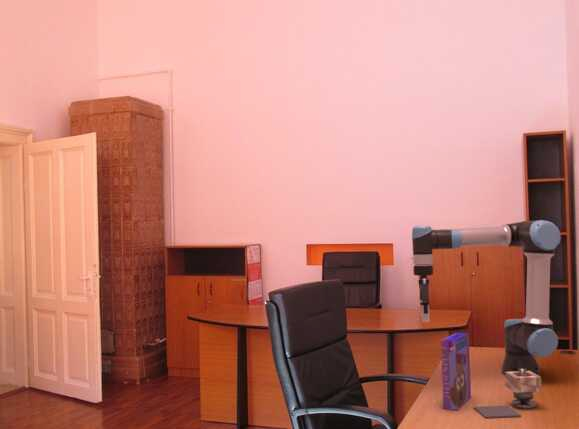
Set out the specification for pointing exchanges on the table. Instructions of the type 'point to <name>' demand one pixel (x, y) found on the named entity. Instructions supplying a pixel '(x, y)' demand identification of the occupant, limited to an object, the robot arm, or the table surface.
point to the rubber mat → (497, 411)
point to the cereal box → (455, 371)
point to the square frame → (523, 382)
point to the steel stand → (523, 396)
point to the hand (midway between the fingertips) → (425, 319)
